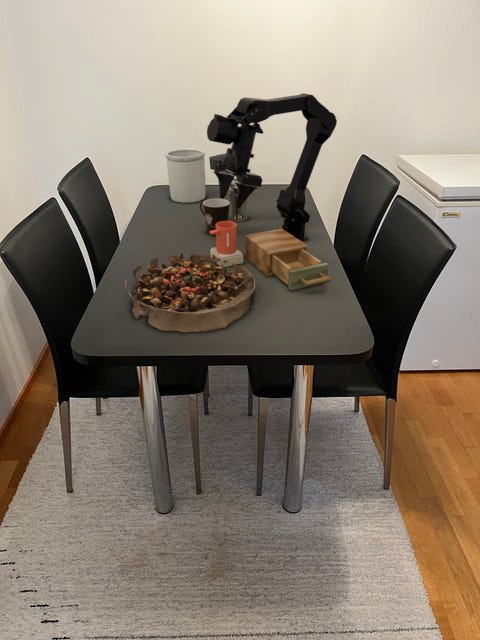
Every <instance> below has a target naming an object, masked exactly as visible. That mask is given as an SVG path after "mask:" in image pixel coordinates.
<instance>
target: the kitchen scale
mask: <svg viewBox="0 0 480 640" xmlns="http://www.w3.org/2000/svg"><path fill="white" fill-rule="evenodd" d="M209 250H210V251H209V252H210V253H209V254H210V256H209V257H215V258H220V259H221V260H220V261H218V262H215V264H217V265H218V266H220V267H221V266H222V265H223V266H224V268H227V267H231V266H233V264H236V265H239V264H244V254H243V252H241V250H239V249H238V248H237V250H236V252H235V253H233V254H229V255H223V254H219V253H218V252H217V249H216V246H215V247H211V248H210V249H209ZM224 260H227V261H228V262H227V263H224V262H223V261H224ZM232 263H233V264H232Z"/></svg>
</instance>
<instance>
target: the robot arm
mask: <svg viewBox="0 0 480 640" xmlns="http://www.w3.org/2000/svg"><path fill="white" fill-rule="evenodd" d="M295 112H301V114H302V117H304V119H305V120H306V125H305V135H306V140H305V142H304V144H303V147H302V151H301V154H300V156H299V159H298V161H297V164H296V167H295V169H294V173H293V176H292V178H291V181H290V184H289V186H288V187H287V188H286V189H283V188H281V189H280V191H279V195H278V197H277V199H276V201H275V202H277V203H276V209H277V212H279V214H280V217H281V218H283V224H282V225H281V229H283V230H285V231H286V232H288V233H289V234H291V235H292V236H294V237H295V238H297V239H298V240H300V241H306V240H308V237H307V236H305V234H306V233H305V232H306V224H308V223H309V221H310V219H311V215H310V214H309V213H308V212H307V210H305V206H306V203H307V201H306V189H307V187H308V184H309V181H310V178H311V176H312V173H313V170H314V169H315V168H314V167H315V165H316V163H317V160H318V157H319V155H320V152H321V149H322V147H323V144H325V143H326V142H327V141H328V140H329V139H330V138H331V136H332V134H333V133H334V131H335V129H336V127H337V124H338V123H337V122H338V119H337V117H336V114H335V113H334V112H331V111H330V110H329V109H328V108H327V107H326V106H325V105H324V104H322V102H320V101H319V100H318V99H317V98H316V97H315V96H314V94H311V93H310V94H309V93H300V94H296V95H289V96H282V97H274V98H267V99H266V98H257V97H242V98H240V99H239V101H238V103H237V104H236V106H235V107H234V108H233V110H232V111H230V112H229V114H228V115H227V116H224V115H220V114H217V113H214V115H213V118H212V119H211V120H210V121H209V124H208V125H207V128H206V136H207V137H206V138H207V140H208V141H209V142H213V143H218V144H222V145H223V144H224V145H231V146H230V147H228V148H226V152H225V153H220V154H216V155H211V156H209V157H208V159H209V169H210V170H212V172H213V174H214V175H215V176H216V177H217V179H218V186H219V187H218V189H219V190H218V191H219V199H225V198H226V196H227V194H228V193H229V187H230V185H231V183H232V181H233V179H234V177H235V176H236V177H237V182H235V183H236V185H237V187H238V193H237V200H236V208H240V207H241V205H242V204H243V203H244V202H245V200H246V199H247V198H248V199H249V197H250V196H251V195H252V193H253V192H254V191H255V190H257V189H258V188H261V187H262V184H263V177H262V176H261V175H260V174H256V173H254V172H251V169H250V168H249V165H250V160H251V159H254V157H255V154H254V153H253V148H254V143H255V139H256V135H257V134H261V135H263V134H264V130H263V129H262V127H261V124H260V123H261V122H264V121H266V120H268V119H269V118H271V117H273V116H276V115H283V114H289V113H295ZM238 182H239V183H238Z"/></svg>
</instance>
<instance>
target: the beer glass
mask: <svg viewBox="0 0 480 640" xmlns="http://www.w3.org/2000/svg"><path fill="white" fill-rule="evenodd" d="M235 182H237V177H236V176H235V177H234V179H233V181H232V183H231V185H230V187H229V189H228V194H229V195H228V196H229V200H230V201H229V202H230V206H231V207H230V208H231V210H230V217H229V218H230V221H232V222H244V221H247V220H248V211H247V208H248V207H247V206H248V202H249V201H248V200H249V197H248V198H247V199H246V200H245V202H244V203H243V204H242V205H241V207H240V208H236V200H237V193H238V187H237V185H236V183H235ZM238 183H239V182H238Z"/></svg>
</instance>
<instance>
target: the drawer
mask: <svg viewBox="0 0 480 640" xmlns="http://www.w3.org/2000/svg"><path fill="white" fill-rule="evenodd" d="M270 271H271V272H273V273H274V274H275V275H274V276H276V277H277V278H278V279H280V280H281V281H282V282H283V283H284V284H286V285H287V286H288V290H289V291H294V290H298V289H302V288H308V287H312V286H315V285H320V284H323V283H328V282H330V281H331V277H330V276H329V275H328V273H329V263H328V262H322V261H321V260H320V259H318V258H317V257H315V256H314V255H313V254H311V253H309V252H308V250H307V251H305V250H304V249H299V250H294V251H289V252H284V253H279V254H274V255H271V261H270Z"/></svg>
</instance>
